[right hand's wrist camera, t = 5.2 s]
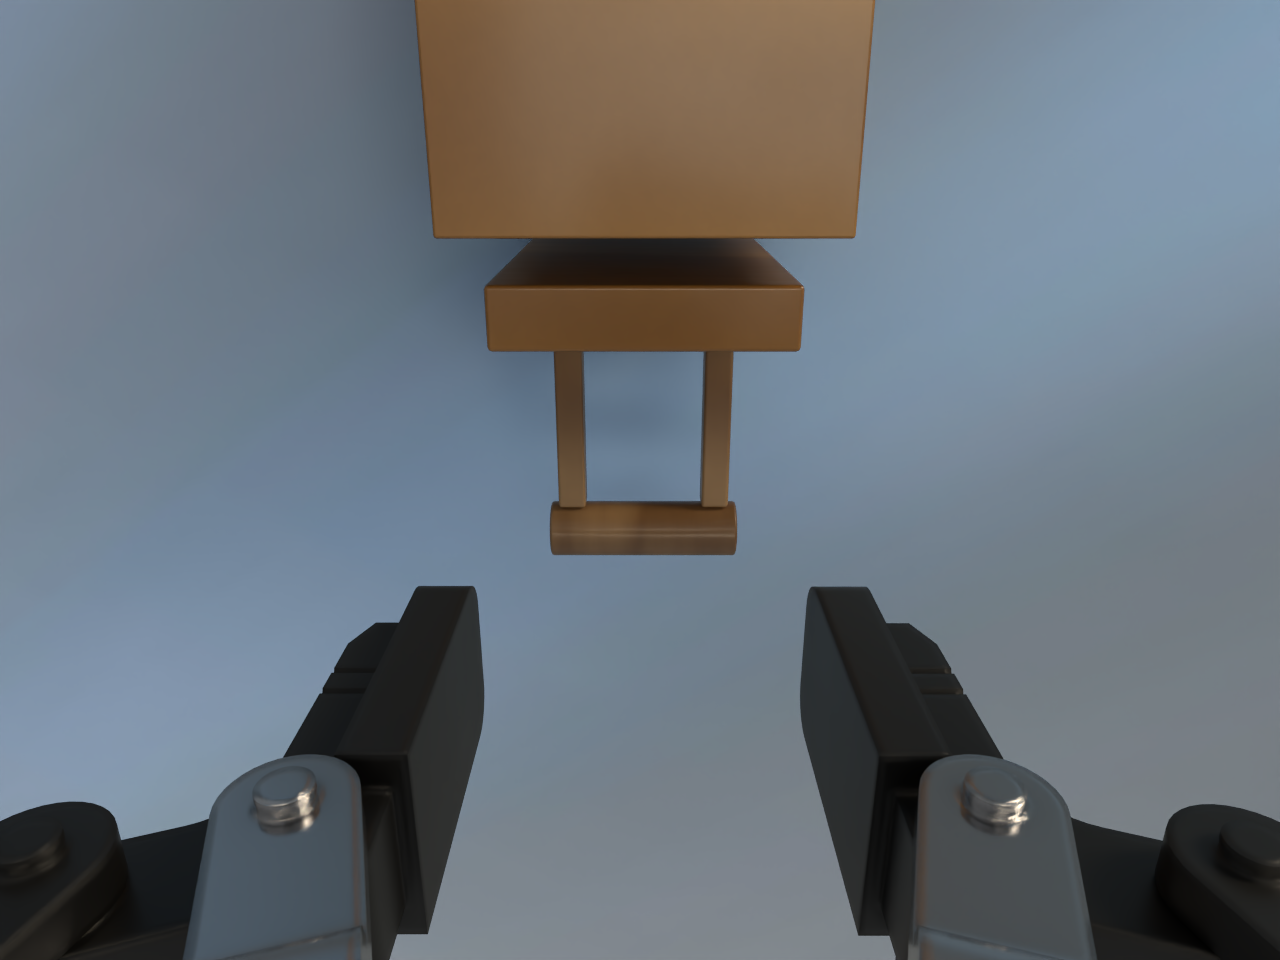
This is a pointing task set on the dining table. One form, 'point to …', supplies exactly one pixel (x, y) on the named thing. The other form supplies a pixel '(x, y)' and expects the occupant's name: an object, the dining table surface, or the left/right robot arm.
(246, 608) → the dining table surface
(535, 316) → the drawer
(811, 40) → the cabinet
